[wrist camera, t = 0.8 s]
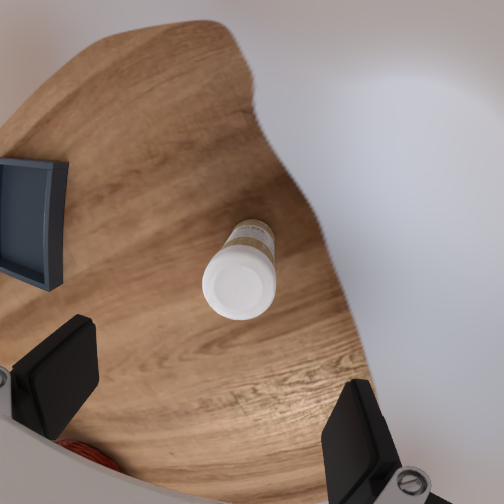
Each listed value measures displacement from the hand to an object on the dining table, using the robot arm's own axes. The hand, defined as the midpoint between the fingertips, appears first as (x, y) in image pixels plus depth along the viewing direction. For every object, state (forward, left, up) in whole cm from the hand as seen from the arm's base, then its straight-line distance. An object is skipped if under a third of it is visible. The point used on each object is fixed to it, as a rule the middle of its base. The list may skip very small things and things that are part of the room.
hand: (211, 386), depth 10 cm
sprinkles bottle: (0, 0, -23) cm, 22 cm away
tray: (+3, -30, -22) cm, 38 cm away
